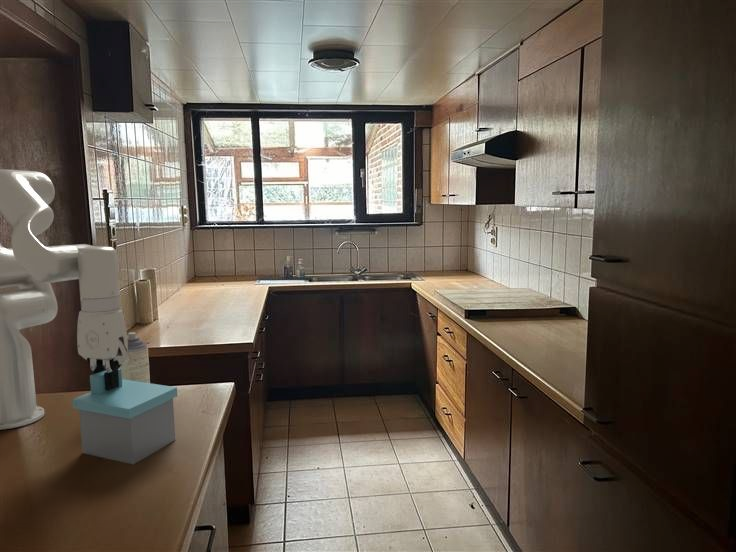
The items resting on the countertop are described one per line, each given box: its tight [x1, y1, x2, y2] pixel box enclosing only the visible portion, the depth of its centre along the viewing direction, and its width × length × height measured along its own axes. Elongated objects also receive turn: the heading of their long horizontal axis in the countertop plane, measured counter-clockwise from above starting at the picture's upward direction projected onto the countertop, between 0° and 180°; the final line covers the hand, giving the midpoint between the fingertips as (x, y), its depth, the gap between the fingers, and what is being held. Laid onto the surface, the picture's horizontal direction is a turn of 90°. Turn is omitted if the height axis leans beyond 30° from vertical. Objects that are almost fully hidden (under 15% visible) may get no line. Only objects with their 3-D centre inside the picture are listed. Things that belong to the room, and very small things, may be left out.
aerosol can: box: [120, 331, 151, 383], centre depth 134 cm, size 7×7×20 cm
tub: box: [78, 398, 176, 465], centre depth 114 cm, size 14×12×11 cm
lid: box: [72, 369, 178, 419], centre depth 113 cm, size 15×13×6 cm
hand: (106, 387), depth 115 cm, fingers closed on lid, 2 cm apart
